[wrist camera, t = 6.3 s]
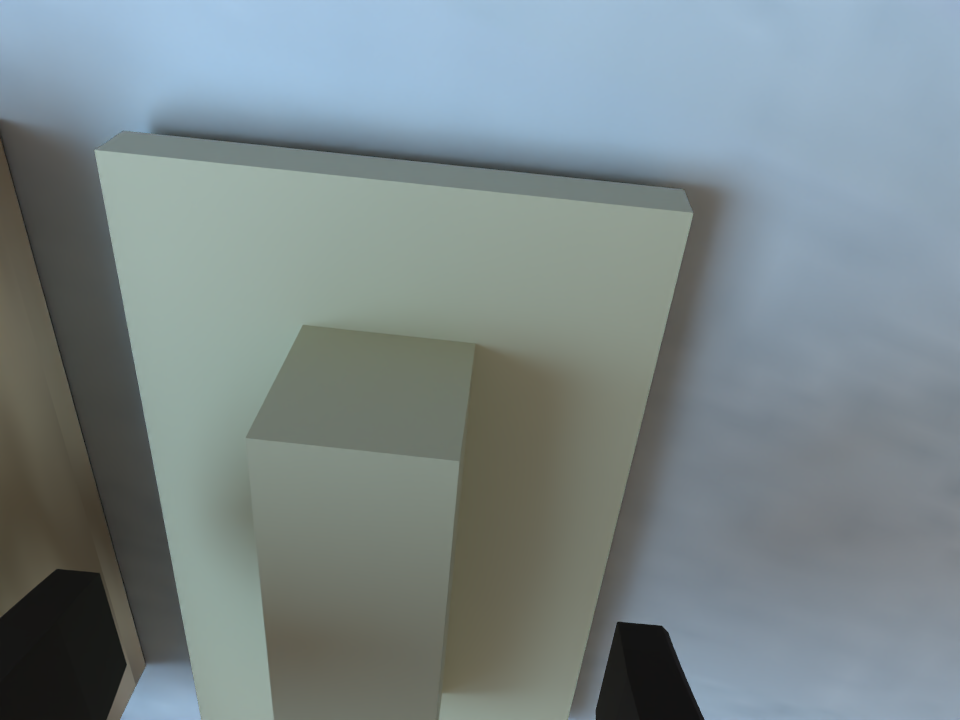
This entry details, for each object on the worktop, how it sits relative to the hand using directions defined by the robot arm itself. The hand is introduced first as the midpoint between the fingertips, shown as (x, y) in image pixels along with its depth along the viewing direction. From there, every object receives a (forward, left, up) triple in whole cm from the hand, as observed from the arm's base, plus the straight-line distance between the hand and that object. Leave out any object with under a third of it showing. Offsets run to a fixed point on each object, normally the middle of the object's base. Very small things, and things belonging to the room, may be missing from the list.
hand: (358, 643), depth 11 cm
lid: (0, 0, -3) cm, 3 cm away
